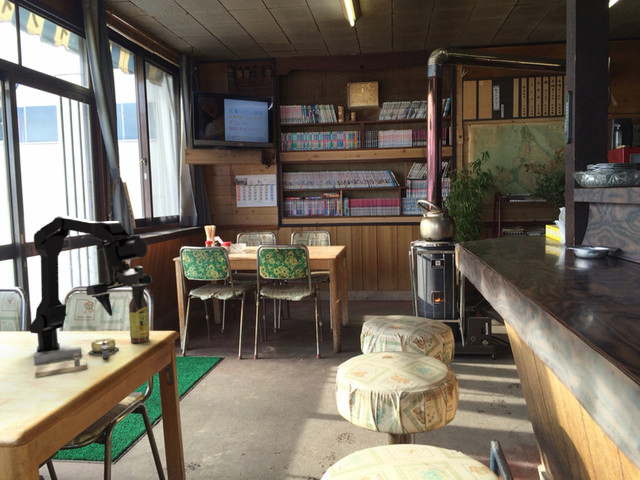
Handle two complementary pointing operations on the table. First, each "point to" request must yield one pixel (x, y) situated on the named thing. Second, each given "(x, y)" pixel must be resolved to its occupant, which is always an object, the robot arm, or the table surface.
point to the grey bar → (56, 355)
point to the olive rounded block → (103, 346)
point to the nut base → (101, 353)
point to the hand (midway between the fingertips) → (125, 311)
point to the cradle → (61, 367)
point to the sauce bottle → (138, 320)
